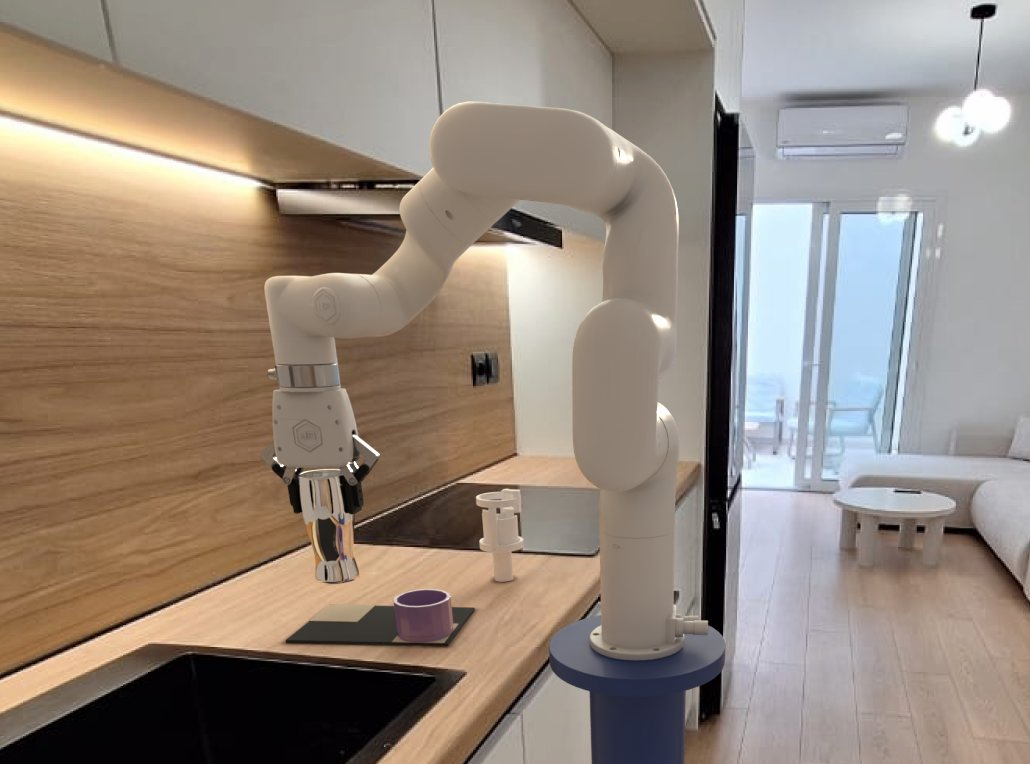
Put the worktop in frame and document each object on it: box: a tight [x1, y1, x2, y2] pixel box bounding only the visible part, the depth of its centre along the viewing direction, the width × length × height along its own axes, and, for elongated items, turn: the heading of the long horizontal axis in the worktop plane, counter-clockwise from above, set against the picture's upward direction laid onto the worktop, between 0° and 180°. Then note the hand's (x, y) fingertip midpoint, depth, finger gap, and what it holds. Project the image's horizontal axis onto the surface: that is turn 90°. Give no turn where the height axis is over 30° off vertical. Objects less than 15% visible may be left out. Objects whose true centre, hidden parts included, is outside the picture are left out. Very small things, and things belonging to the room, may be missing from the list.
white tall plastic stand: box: [475, 488, 525, 583], centre depth 131 cm, size 7×7×15 cm
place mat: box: [285, 603, 476, 647], centre depth 114 cm, size 22×14×1 cm, turn 87°
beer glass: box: [297, 468, 361, 585], centre depth 113 cm, size 7×7×15 cm
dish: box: [392, 588, 453, 642], centre depth 109 cm, size 7×7×5 cm
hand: (328, 510), depth 112 cm, fingers closed on beer glass, 7 cm apart
